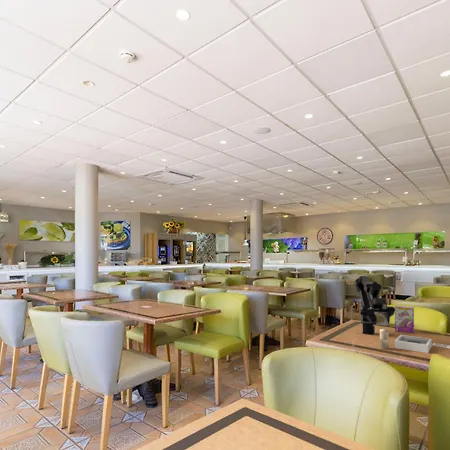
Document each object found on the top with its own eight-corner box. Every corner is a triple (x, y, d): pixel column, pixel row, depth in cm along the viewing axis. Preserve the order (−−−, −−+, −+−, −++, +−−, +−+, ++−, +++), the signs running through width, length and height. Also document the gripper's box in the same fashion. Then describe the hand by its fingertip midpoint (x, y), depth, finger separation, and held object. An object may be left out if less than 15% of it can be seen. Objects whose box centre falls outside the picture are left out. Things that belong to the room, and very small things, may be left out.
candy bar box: (394, 331, 231) (394, 306, 232) (395, 329, 235) (395, 305, 236) (414, 333, 225) (413, 307, 226) (414, 331, 229) (413, 306, 230)
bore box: (395, 347, 194) (394, 340, 194) (400, 341, 206) (400, 334, 207) (428, 353, 184) (427, 345, 184) (431, 346, 197) (431, 338, 197)
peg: (379, 348, 192) (378, 330, 193) (381, 346, 196) (380, 328, 196) (387, 350, 190) (387, 331, 190) (389, 348, 193) (389, 329, 194)
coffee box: (386, 323, 253) (386, 301, 254) (387, 325, 247) (387, 302, 248) (373, 323, 256) (372, 300, 257) (374, 324, 250) (373, 302, 250)
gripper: (360, 292, 207) (365, 314, 196) (393, 292, 205) (400, 315, 193) (357, 303, 215) (362, 325, 203) (389, 304, 212) (396, 326, 200)
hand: (380, 323), depth 200 cm, fingers open, 9 cm apart
